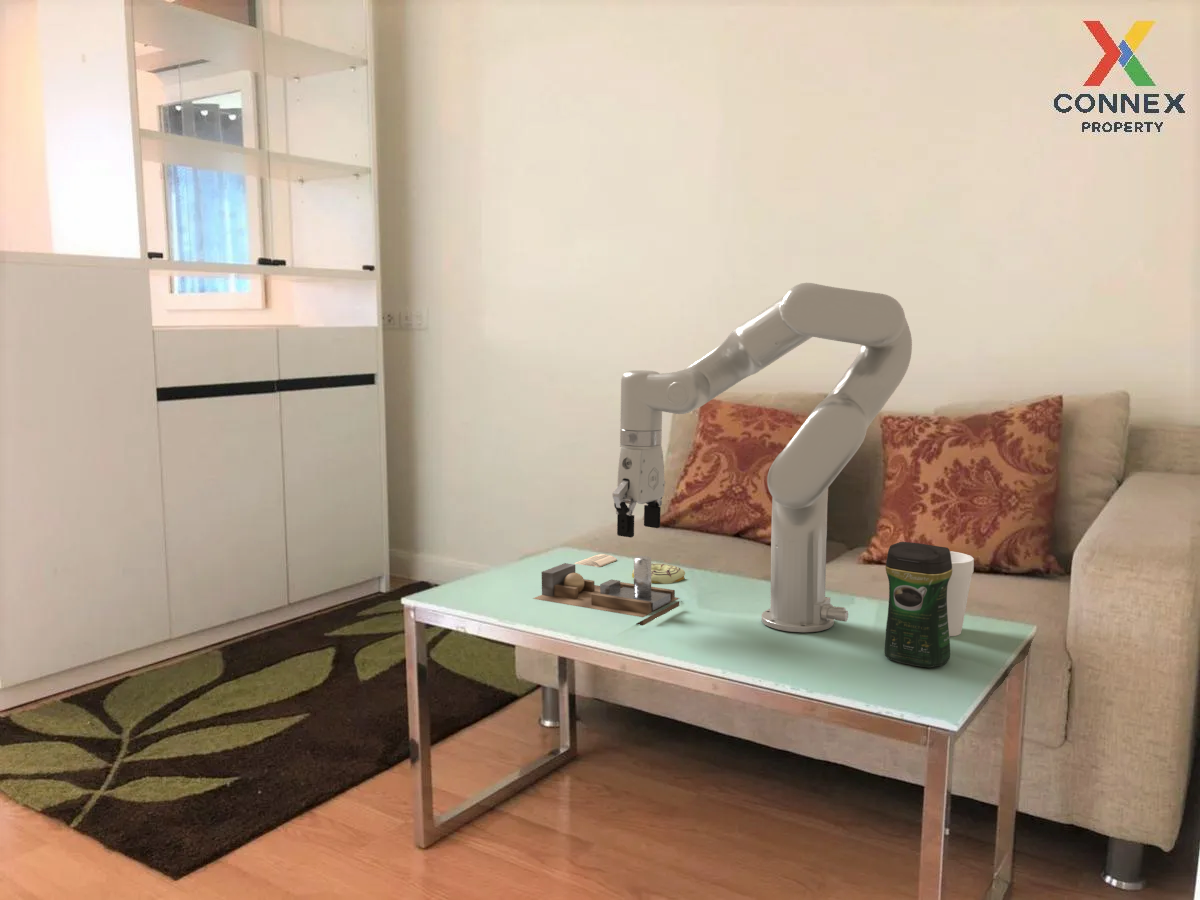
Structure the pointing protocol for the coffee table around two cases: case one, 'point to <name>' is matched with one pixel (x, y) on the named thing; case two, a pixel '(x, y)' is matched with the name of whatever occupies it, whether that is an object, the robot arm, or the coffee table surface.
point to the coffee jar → (918, 604)
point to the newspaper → (597, 560)
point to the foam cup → (958, 590)
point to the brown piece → (597, 595)
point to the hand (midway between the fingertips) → (639, 531)
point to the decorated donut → (665, 573)
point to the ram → (638, 585)
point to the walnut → (574, 581)
